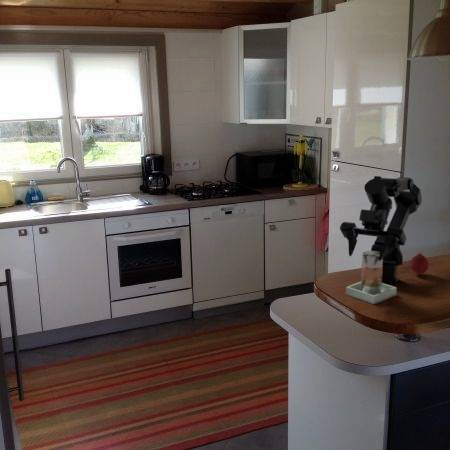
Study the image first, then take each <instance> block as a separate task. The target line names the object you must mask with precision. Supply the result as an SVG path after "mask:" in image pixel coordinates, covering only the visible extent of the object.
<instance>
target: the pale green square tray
mask: <svg viewBox="0 0 450 450" xmlns="http://www.w3.org/2000/svg"><path fill="white" fill-rule="evenodd" d="M397 289H398V288H397V287H396V286H393V285H391V284H390V285H387V284H384V283H382V289H381V293H379V294H376V295H371V294H368V293H365V292H362V291H361V281H358V282H356V283H354V284H350V285H348V286H346V287H345V295H346V296H349V297H353V298H355V299H357V300H360V301H364V302H366V303H369V304H371V305H375V304H378V303H381V302H383V301H385V300H388V299H391V298H394V297H395V296H397Z"/></svg>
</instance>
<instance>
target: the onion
mask: <svg viewBox="0 0 450 450" xmlns="http://www.w3.org/2000/svg"><path fill="white" fill-rule="evenodd" d="M429 262H430V261H429V260H428V258H427V257H426V256H425V255H423V252H421V251H419V252H417V254H416V255H415V256H413V257H412V258H411V260H410V262H409V263H410V264H409V265H410V269H411V270H412V271H413V273H415V275H417V276H421V275H422V274H424V273H426V272H427V271H428V269H429V267H430V264H429Z"/></svg>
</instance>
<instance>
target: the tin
mask: <svg viewBox="0 0 450 450" xmlns="http://www.w3.org/2000/svg"><path fill="white" fill-rule="evenodd" d="M379 255H380V252H377V251H371V250H366V251H364V252H362V255H361V256H362V257H361V258H362V259H361V275H360V277H361V278H360V279H361V281H360V282H361V291H362V292H365V293H368V294H371V295H376V294H379V293H381V289H382V271H383V259H382V260H381V261H379Z"/></svg>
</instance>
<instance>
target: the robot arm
mask: <svg viewBox="0 0 450 450" xmlns="http://www.w3.org/2000/svg"><path fill="white" fill-rule="evenodd" d="M364 191H365V193H366V197H367V199H368V201H369V203H370V204H371V206H370V208H369V209H360V214H359V218H358V220H359V221H361V225H362V227H357V225H356V223H355V222H351V221H350V222H349V221H343V222H342V223H341V224H340V226H339V231H340V232H341V234H342V235H343V237H344V238H345V239H346V240H347V242H348V256H349V257H352V255H353V254H354V251H355V248H356V245H357V242H358V239H357V238H358V236H360V235H361V236H370V237H376V239H375V240H374V242H373V244H372V245H371V249H370V251H377V252H380V255H379V261H381V260H382V259H383V271H382V283H384V284H387V285H390V286H391V285H392V284H395V283H398V282H399V281H401V278H399V277H398V276H397V272H398V271H397V270H398V267H399V266H403V262H404V261H403V260H404V258H403V254H402V251H401V248H400V246H405V244H406V241H407V236H406V234H405V231H404V228H405V226H406V224H407V221H408V219H409V216H410V215H411V214H414V213H416V212H417V210H418V208H419V207H420V206H421V204H422V200H423V198H422V197H423V196H422V192H421V189H420V188H419V187H418V186H417V185H416V184H415V183H414V180H413V178H411V177H404V176H403V177H401V176H400V177H397V178H392V177H391V178H390V177H388V178H386V177H382V176H381V175H380V176H379V175H374V176H373V178H372V179H369V180H368V181H367V182H366V183H365V184H364ZM391 198H393V200H394V204H395V211H394V213H393V216H392V218H391V220H390V222H389V221H388V219H389V216H390V212H391V210H392V209H393V200H392V199H391ZM388 223H389V224H388ZM387 225H388V226H387ZM386 226H387V228H386ZM385 228H386V230H385Z"/></svg>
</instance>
